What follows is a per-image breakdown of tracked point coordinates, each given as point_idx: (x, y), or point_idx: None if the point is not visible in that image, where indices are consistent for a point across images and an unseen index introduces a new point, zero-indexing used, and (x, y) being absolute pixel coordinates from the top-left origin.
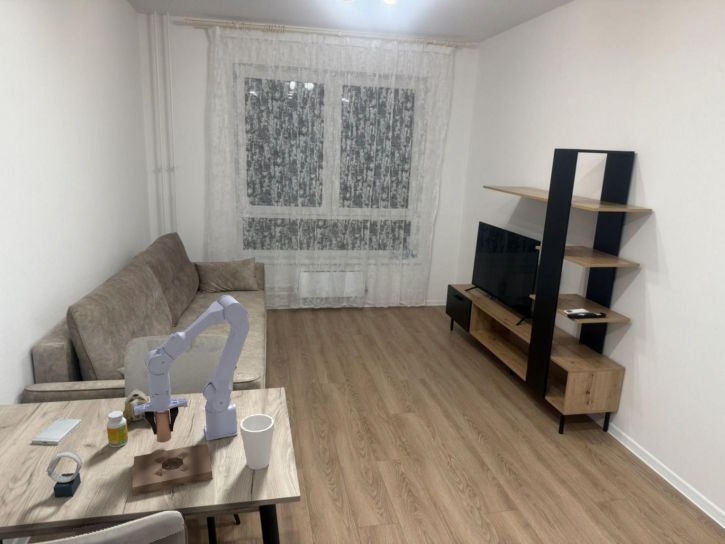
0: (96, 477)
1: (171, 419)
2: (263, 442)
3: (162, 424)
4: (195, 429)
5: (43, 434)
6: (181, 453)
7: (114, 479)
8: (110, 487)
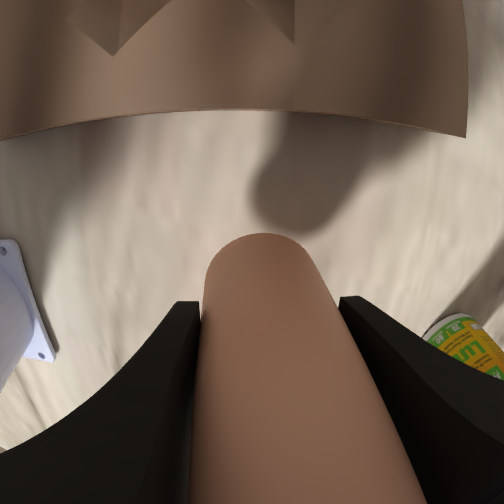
0: None
1: (138, 422)
2: None
3: (305, 364)
4: (96, 359)
5: None
6: (125, 30)
7: (496, 59)
8: (499, 17)
